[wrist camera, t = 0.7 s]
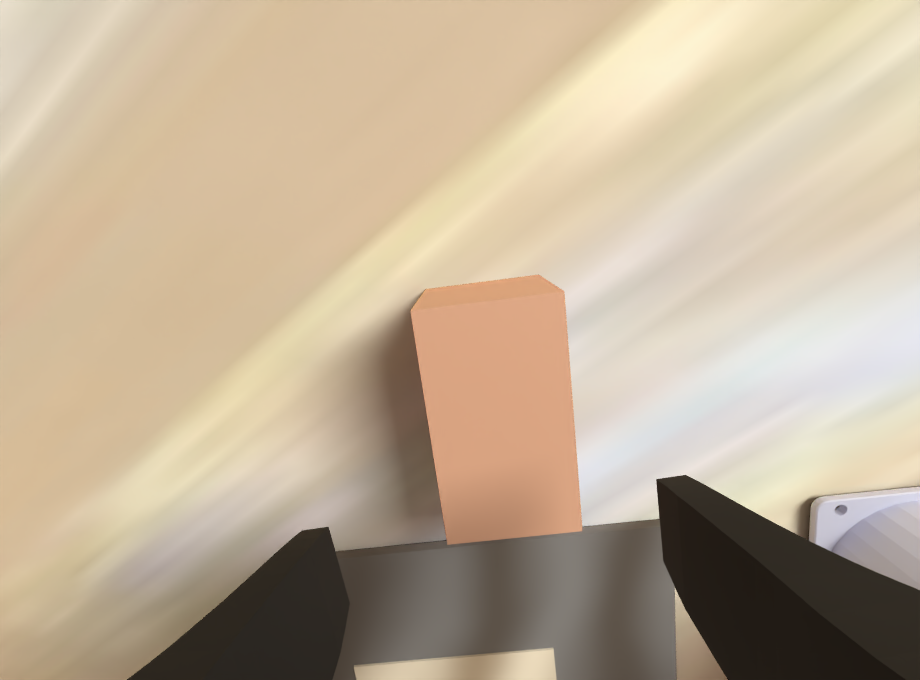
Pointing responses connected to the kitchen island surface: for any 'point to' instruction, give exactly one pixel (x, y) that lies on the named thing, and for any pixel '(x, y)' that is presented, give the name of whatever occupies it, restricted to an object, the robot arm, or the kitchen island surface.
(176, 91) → the kitchen island surface
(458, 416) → the block
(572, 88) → the kitchen island surface
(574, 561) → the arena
